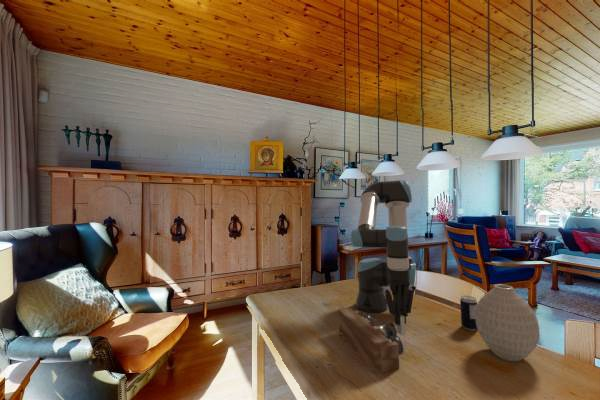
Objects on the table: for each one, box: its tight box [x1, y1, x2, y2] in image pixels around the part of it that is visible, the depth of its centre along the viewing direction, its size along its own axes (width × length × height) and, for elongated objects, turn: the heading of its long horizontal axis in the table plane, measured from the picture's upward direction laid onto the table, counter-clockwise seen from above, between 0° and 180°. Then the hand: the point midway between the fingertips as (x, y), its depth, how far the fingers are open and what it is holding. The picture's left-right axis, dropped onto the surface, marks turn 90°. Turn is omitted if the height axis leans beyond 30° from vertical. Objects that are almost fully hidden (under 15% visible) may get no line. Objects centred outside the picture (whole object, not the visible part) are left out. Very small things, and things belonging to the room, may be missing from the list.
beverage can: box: [459, 295, 478, 332], centre depth 102 cm, size 6×6×12 cm
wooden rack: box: [338, 307, 400, 375], centre depth 90 cm, size 8×27×9 cm, turn 15°
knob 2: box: [373, 321, 398, 339], centre depth 92 cm, size 9×6×6 cm, turn 105°
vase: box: [475, 283, 540, 362], centre depth 84 cm, size 16×16×22 cm
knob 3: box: [388, 335, 404, 356], centre depth 82 cm, size 9×6×6 cm, turn 105°
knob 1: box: [360, 313, 374, 326], centre depth 100 cm, size 9×6×6 cm, turn 105°
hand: (401, 333), depth 94 cm, fingers closed
